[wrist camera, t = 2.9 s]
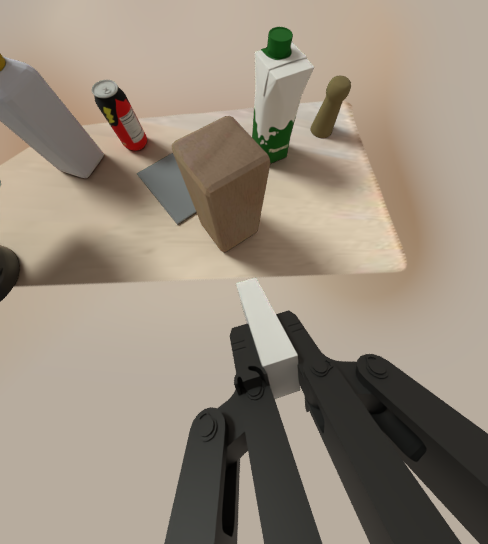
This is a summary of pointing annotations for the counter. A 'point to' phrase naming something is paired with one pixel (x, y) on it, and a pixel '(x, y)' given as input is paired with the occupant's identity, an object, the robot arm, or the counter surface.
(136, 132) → the beverage can
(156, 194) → the mat
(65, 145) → the soap bottle
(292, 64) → the milk carton
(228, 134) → the block
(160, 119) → the counter surface
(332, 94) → the olive peg figure
